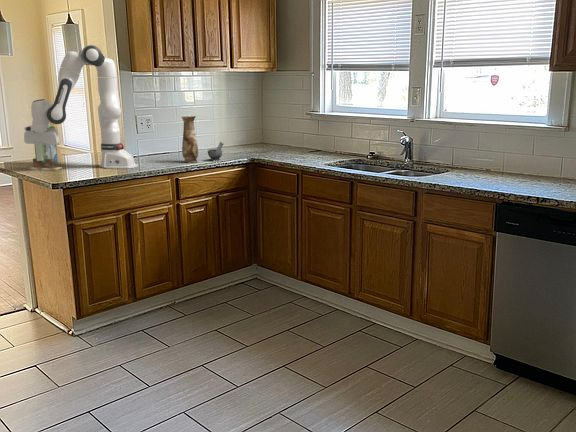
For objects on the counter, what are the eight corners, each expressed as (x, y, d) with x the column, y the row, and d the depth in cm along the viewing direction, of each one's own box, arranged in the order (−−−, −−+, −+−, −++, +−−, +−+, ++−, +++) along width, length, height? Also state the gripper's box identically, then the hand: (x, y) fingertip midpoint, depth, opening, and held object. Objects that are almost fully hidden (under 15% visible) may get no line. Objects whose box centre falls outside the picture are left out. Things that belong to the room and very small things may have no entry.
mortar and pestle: (211, 161, 374) (211, 143, 371) (205, 160, 382) (205, 142, 379) (226, 160, 380) (226, 142, 377) (220, 158, 388) (220, 141, 385)
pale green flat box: (45, 158, 338) (44, 141, 335) (50, 158, 337) (48, 141, 335) (36, 160, 329) (35, 143, 327) (41, 160, 329) (40, 143, 326)
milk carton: (49, 165, 350) (45, 123, 344) (36, 164, 351) (32, 123, 345) (57, 163, 358) (54, 122, 352) (45, 162, 360) (41, 122, 354)
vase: (200, 162, 369) (199, 115, 362) (184, 163, 364) (183, 116, 357) (195, 160, 378) (194, 114, 371) (179, 161, 373) (178, 115, 366)
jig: (62, 168, 337) (61, 158, 335) (55, 170, 330) (54, 160, 329) (33, 167, 339) (32, 157, 338) (26, 169, 332) (25, 159, 331)
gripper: (60, 128, 331) (62, 151, 334) (28, 126, 333) (30, 150, 337) (54, 128, 324) (56, 153, 328) (21, 127, 327) (23, 151, 331)
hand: (42, 151), depth 332 cm, fingers closed on pale green flat box, 3 cm apart
